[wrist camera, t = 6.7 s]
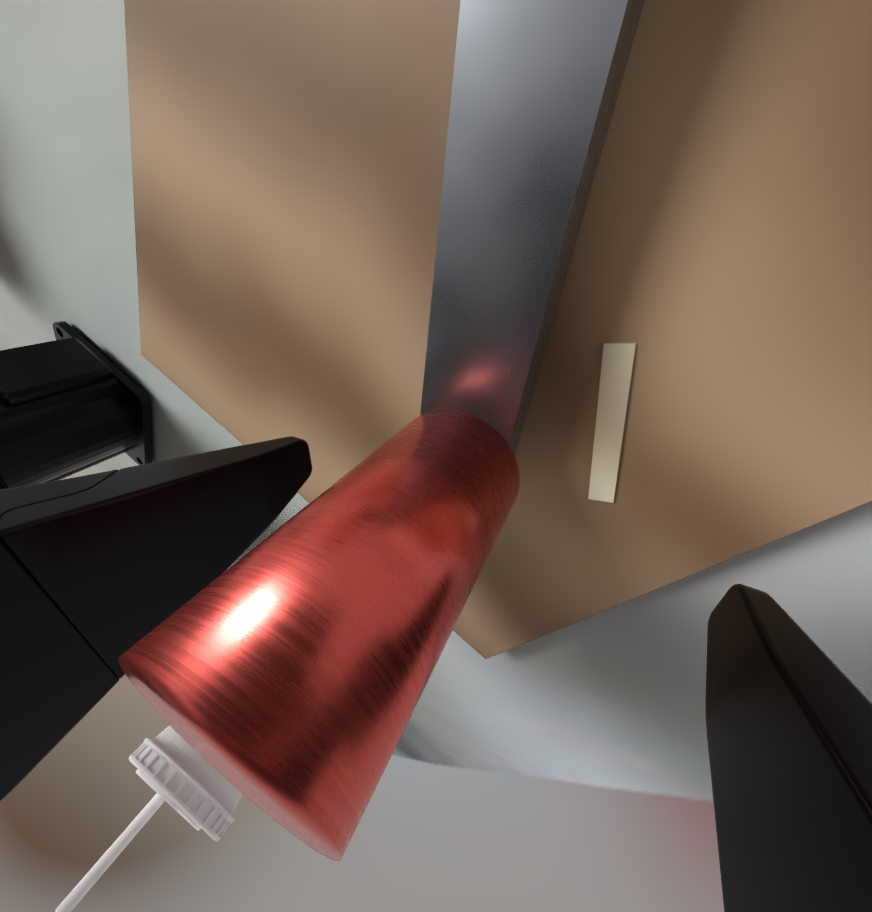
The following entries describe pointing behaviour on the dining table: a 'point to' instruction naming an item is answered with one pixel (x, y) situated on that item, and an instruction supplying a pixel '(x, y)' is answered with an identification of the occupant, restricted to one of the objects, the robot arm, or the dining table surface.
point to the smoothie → (170, 798)
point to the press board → (584, 291)
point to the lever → (407, 451)
